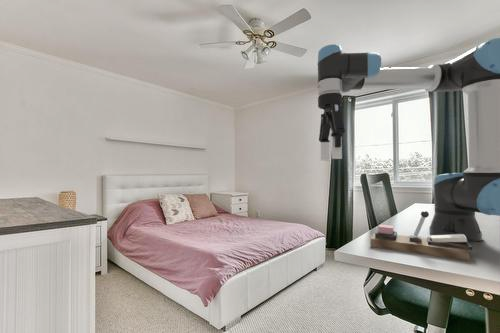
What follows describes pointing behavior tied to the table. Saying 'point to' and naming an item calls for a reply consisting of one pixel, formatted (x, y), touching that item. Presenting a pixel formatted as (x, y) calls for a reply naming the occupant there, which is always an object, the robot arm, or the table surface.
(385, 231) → the push button
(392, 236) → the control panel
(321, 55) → the robot arm
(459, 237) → the rocker switch
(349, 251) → the table surface
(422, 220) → the toggle lever
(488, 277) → the table surface
